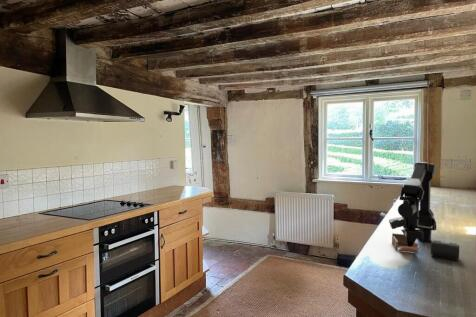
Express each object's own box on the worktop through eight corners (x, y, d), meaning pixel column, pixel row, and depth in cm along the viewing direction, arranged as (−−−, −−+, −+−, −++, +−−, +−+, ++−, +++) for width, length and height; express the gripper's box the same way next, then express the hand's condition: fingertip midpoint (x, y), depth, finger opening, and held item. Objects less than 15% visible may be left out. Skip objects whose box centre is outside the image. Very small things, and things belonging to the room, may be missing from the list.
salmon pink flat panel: (398, 249, 149) (402, 245, 141) (415, 250, 147) (419, 247, 140) (398, 251, 149) (402, 247, 141) (415, 252, 147) (419, 249, 139)
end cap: (430, 258, 141) (431, 242, 141) (430, 253, 147) (431, 238, 147) (458, 263, 136) (459, 246, 135) (457, 258, 142) (458, 242, 141)
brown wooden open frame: (391, 243, 160) (392, 233, 160) (411, 245, 158) (412, 235, 157) (395, 250, 150) (396, 239, 149) (417, 252, 147) (417, 241, 147)
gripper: (387, 206, 154) (385, 239, 155) (394, 216, 136) (392, 253, 137) (414, 208, 151) (412, 241, 152) (424, 219, 133) (422, 256, 134)
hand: (409, 248), depth 144 cm, fingers closed, pressing on salmon pink flat panel
